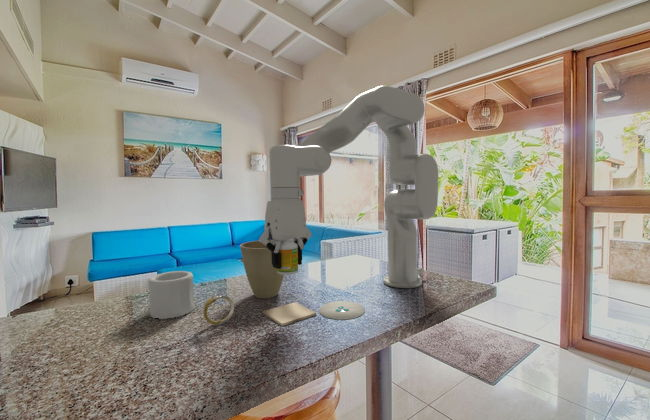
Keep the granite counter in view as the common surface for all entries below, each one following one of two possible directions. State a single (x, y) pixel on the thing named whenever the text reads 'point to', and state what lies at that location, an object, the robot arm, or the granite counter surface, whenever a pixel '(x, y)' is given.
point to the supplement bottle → (288, 257)
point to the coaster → (341, 310)
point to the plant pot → (260, 269)
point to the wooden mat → (289, 313)
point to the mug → (171, 294)
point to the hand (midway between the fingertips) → (287, 265)
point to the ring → (209, 301)
